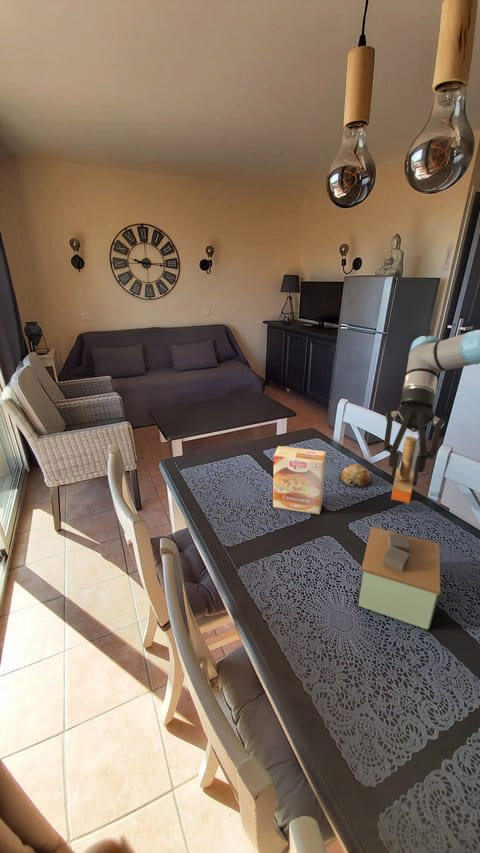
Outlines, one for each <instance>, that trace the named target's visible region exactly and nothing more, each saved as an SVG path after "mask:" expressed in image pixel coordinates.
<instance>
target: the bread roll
mask: <svg viewBox="0 0 480 853" xmlns="http://www.w3.org/2000/svg"><path fill="white" fill-rule="evenodd" d="M340 479H341V481H343V482H344V484H346V485H348V486H351V487H359V488H360V487H361V488H362V487H363V488H364V487H367V486H369V485H370V483H371V473H370V471H369V470H368V469H367V468H366V467H365V466H363V465H361V464H359V463H354V464H350V465H348V466H346V467H344V469H343V470H342V471H341V474H340Z"/></svg>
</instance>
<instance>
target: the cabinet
mask: <svg viewBox="0 0 480 853" xmlns="http://www.w3.org/2000/svg"><path fill="white" fill-rule="evenodd" d="M389 533H393V534H400V535H403V534H402V533H398V532H395V531H391V530H386V529H383V528H379V527H374V526H371V527H370V531H369V536H368V539H367V544H366V548H365V552H364V556H363V561H362V564H361V569H360V570H361V572H362V578H361V584H360V593H359V599H358V607H361V608H364V609H366V610H370V611H372V612H375V613H378V614H381V615H384V616H387V617H389V618H392V619H395V620H399V621H401V622H404V623H407V624H410V625H413V626H416V627H418V628H422V629H424V630H429V629H431V625H432V621H433V618H434V614H435V609H436V606H437V602H438V598H439V596H441V564H440V563H441V560H440V558H441V557H440V554H441V553H440V543H439V542H434V541H429V540H427V539H422V538H417V537H414V536H410V535H407V536H408V540H409V545H410V550H409V554H410V557H409V561H408V563H407V565H406V566H405V568H404V570H403V571H400V570H398V569H396V568H394V567H391V566H389V565H387V564H385V563H384V556H385V554H386V553H387V551H388V550H389V545H388V536H389Z"/></svg>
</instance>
